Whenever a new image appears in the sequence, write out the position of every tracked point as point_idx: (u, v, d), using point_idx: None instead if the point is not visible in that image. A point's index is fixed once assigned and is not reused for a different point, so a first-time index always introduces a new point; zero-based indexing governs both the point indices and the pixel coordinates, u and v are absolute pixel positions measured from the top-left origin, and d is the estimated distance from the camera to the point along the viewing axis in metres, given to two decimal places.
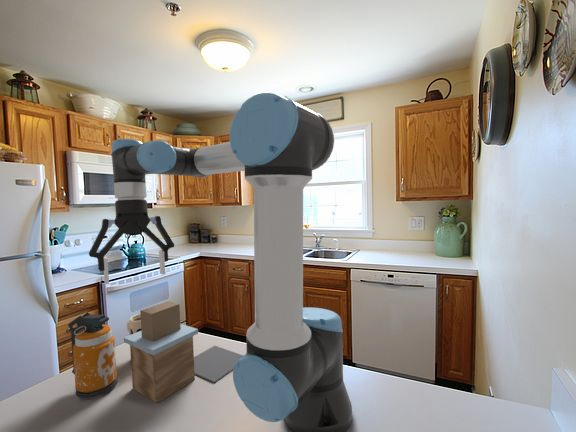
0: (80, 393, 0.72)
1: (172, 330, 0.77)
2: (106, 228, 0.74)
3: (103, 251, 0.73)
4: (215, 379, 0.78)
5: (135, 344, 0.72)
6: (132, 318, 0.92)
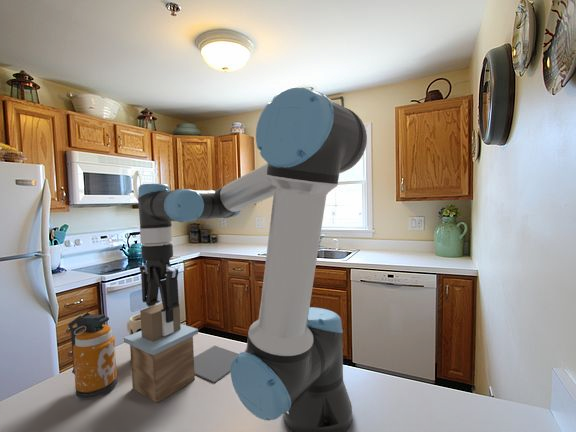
0: (80, 393, 0.72)
1: None
2: (142, 274, 0.78)
3: (147, 299, 0.78)
4: (215, 379, 0.78)
5: (135, 344, 0.72)
6: (132, 318, 0.92)
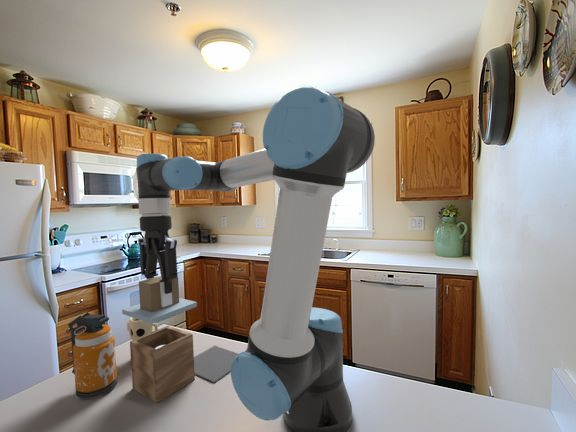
0: (80, 393, 0.72)
1: None
2: (141, 247, 0.78)
3: (146, 271, 0.78)
4: (215, 379, 0.78)
5: (133, 315, 0.72)
6: (132, 318, 0.92)
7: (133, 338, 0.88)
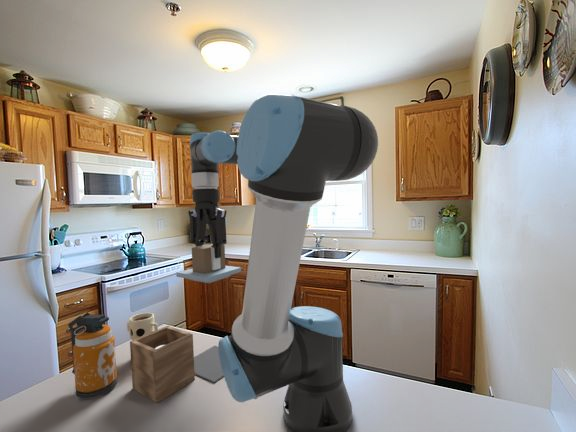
0: (80, 393, 0.72)
1: None
2: (191, 218, 0.87)
3: (196, 239, 0.86)
4: (215, 379, 0.78)
5: (188, 276, 0.81)
6: (132, 318, 0.92)
7: (133, 338, 0.88)
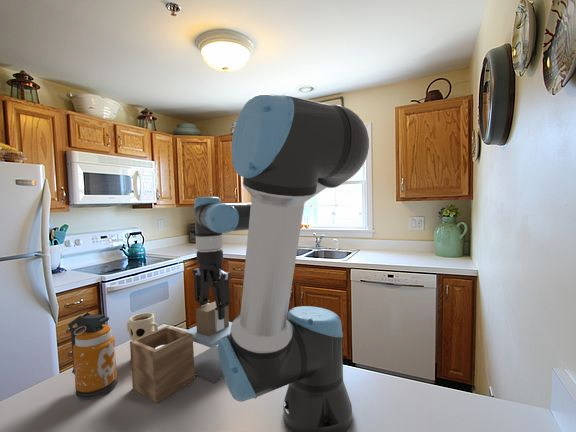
0: (80, 393, 0.72)
1: None
2: (195, 277, 0.88)
3: (200, 298, 0.88)
4: (215, 379, 0.78)
5: (193, 339, 0.82)
6: (132, 318, 0.92)
7: (133, 338, 0.88)
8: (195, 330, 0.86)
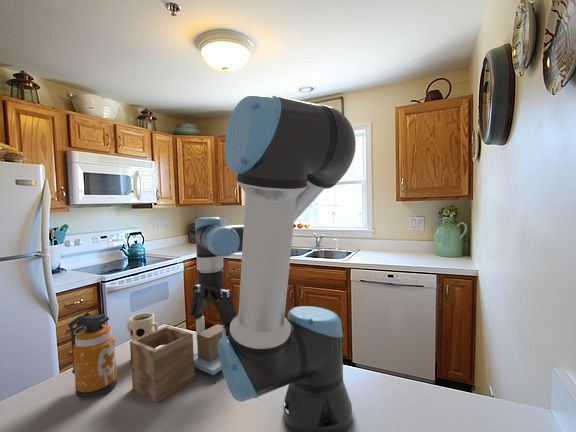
0: (80, 393, 0.72)
1: None
2: (195, 293, 0.89)
3: (195, 313, 0.89)
4: (215, 379, 0.78)
5: (194, 365, 0.82)
6: (132, 318, 0.92)
7: (133, 338, 0.88)
8: (196, 355, 0.87)
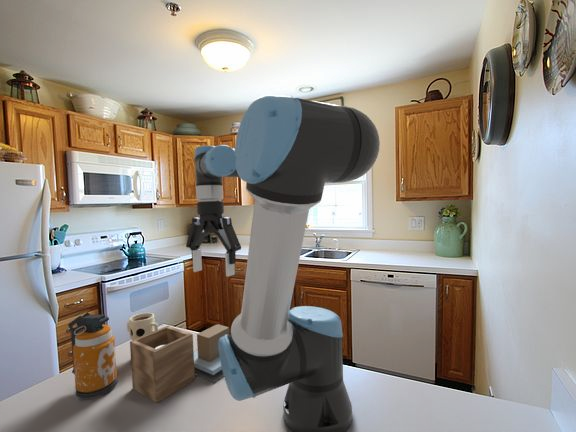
0: (80, 393, 0.72)
1: None
2: (193, 225, 0.88)
3: (192, 244, 0.89)
4: (215, 379, 0.78)
5: (194, 365, 0.82)
6: (132, 318, 0.92)
7: (133, 338, 0.88)
8: (196, 355, 0.87)
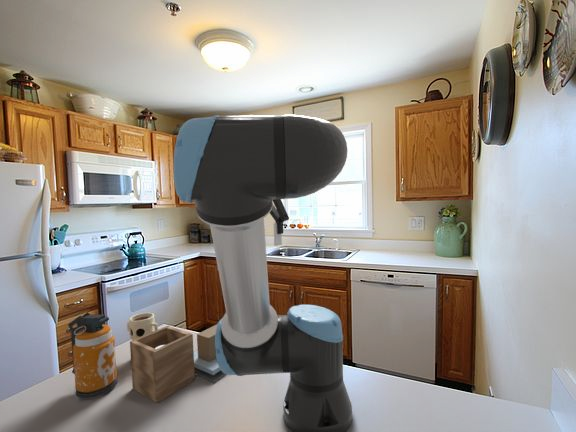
0: (80, 393, 0.72)
1: None
2: None
3: None
4: (215, 379, 0.78)
5: (194, 365, 0.82)
6: (132, 318, 0.92)
7: (133, 338, 0.88)
8: (196, 355, 0.87)
